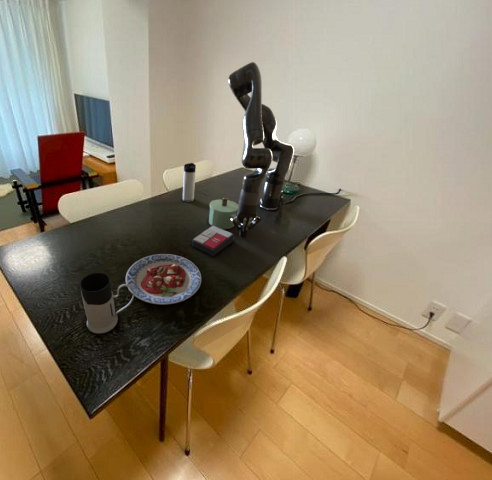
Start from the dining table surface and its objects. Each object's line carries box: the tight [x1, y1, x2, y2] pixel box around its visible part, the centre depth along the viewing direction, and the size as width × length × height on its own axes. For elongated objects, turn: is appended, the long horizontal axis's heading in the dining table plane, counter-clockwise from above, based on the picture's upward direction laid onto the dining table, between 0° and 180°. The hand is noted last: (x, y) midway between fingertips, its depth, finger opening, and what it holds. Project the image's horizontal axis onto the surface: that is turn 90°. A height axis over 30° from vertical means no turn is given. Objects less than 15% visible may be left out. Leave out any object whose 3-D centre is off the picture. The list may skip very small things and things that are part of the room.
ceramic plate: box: [125, 253, 202, 306], centre depth 91 cm, size 26×26×3 cm
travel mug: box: [182, 162, 197, 203], centre depth 144 cm, size 6×7×20 cm
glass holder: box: [79, 271, 135, 334], centre depth 73 cm, size 9×14×15 cm, turn 93°
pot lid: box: [209, 196, 239, 213], centre depth 122 cm, size 14×14×5 cm
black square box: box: [191, 225, 235, 257], centre depth 111 cm, size 11×4×15 cm
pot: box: [208, 207, 238, 230], centre depth 125 cm, size 13×18×8 cm
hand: (242, 237), depth 113 cm, fingers closed
